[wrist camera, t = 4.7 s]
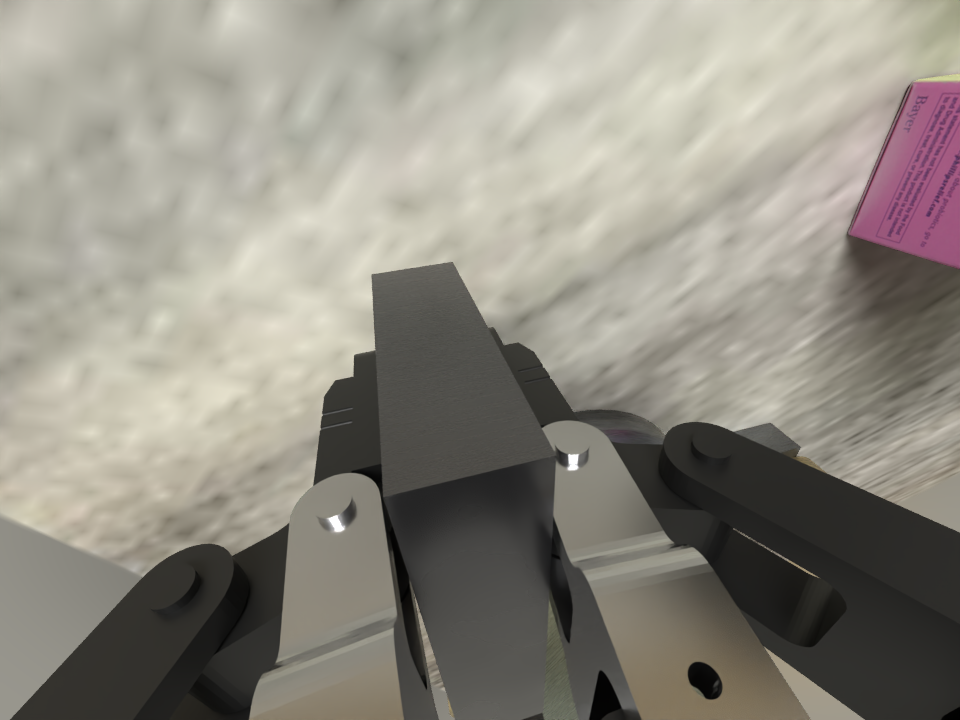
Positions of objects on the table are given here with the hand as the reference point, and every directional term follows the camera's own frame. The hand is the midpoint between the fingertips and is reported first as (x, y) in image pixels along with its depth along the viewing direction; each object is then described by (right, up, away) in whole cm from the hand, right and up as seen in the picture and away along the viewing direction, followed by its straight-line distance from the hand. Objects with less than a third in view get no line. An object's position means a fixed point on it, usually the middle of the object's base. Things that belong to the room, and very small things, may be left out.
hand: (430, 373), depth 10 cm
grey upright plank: (-1, 0, +3) cm, 3 cm away
